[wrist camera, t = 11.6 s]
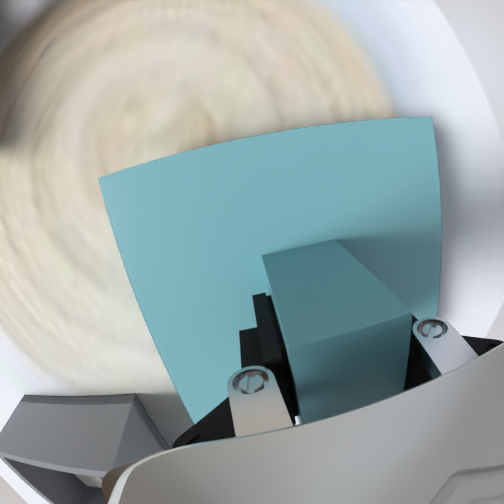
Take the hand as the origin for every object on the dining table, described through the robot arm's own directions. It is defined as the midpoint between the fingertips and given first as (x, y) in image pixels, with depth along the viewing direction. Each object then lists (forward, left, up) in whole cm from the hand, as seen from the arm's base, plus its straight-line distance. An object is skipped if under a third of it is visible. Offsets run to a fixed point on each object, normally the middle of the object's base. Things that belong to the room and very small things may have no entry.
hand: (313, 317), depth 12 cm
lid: (0, 0, -4) cm, 4 cm away
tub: (-13, +18, -5) cm, 23 cm away
